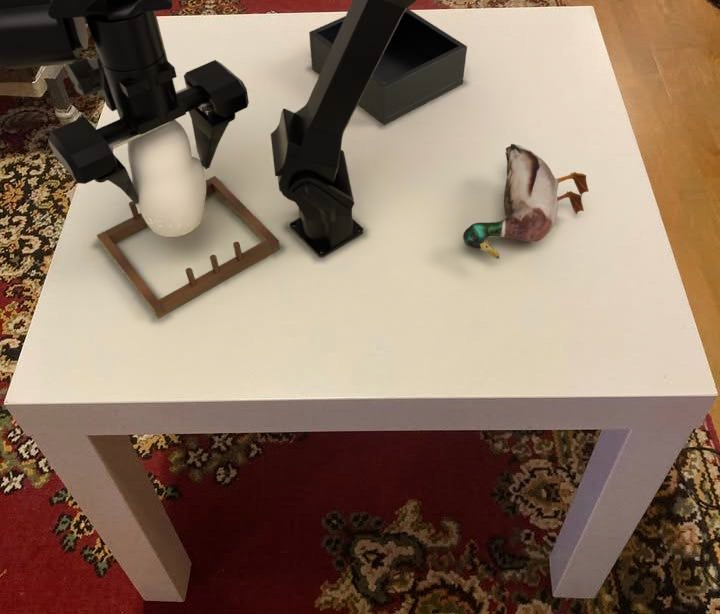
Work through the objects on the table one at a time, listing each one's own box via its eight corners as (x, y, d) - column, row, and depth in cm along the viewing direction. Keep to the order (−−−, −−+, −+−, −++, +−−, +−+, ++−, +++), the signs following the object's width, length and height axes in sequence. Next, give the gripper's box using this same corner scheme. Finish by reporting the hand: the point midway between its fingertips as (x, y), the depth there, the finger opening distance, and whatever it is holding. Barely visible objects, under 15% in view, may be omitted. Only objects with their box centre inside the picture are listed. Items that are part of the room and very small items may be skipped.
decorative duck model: (479, 243, 75) (424, 150, 83) (476, 284, 81) (425, 194, 89) (608, 199, 77) (542, 111, 85) (595, 242, 83) (535, 157, 91)
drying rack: (280, 249, 83) (276, 225, 80) (158, 318, 77) (149, 296, 74) (217, 184, 90) (211, 160, 87) (100, 244, 84) (89, 220, 81)
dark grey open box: (462, 84, 102) (467, 46, 97) (384, 125, 97) (384, 87, 92) (388, 33, 110) (389, -4, 105) (311, 69, 105) (308, 31, 100)
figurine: (215, 192, 81) (194, 103, 72) (199, 241, 76) (174, 153, 67) (154, 188, 82) (125, 100, 72) (135, 237, 77) (101, 149, 67)
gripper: (179, -19, 71) (207, 111, 83) (-4, 51, 64) (57, 181, 76) (239, 30, 65) (260, 161, 78) (47, 111, 59) (103, 241, 71)
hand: (171, 183), depth 76 cm, fingers closed on figurine, 8 cm apart
